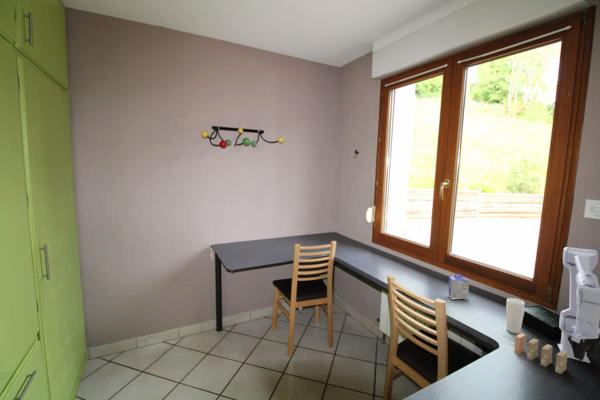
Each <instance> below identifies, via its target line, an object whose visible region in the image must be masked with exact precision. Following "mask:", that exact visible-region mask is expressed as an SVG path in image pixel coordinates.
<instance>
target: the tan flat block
mask: <svg viewBox="0 0 600 400" xmlns="http://www.w3.org/2000/svg"><path fill="white" fill-rule="evenodd" d="M552 357H553V345H551V344H549V343H548V344H546V345H544V346H543V347H541V355H540V365H541V366H543V367H545V368H546V367H548V366H550V364H552V360H553V359H552Z"/></svg>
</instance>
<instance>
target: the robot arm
mask: <svg viewBox="0 0 600 400" xmlns="http://www.w3.org/2000/svg"><path fill="white" fill-rule="evenodd" d="M598 260H599V254H598V251H597V250H596V249H587V248H577V247H571V246H570V247H569V246H564V248H563V250H562V265H563V267H564V268H566V269H568V271H569V303H568V305H569V306H568V307H569V308H566V309H564V310H561V311H560V314H559V321H558V322H559V323H558V324H559V325H558V327H559V329H560V331H561V336H560V337H561V338H560V343H557V347H558V349H559V352H560V351H562V350H563V351H565V352H568V354H567V359H572V360H576V361H580V362H583V363H584V362H585V363H588V364H590V363H591V361H590V359H589V358H588V356H587V354H589V355H592V356H594V355H595V353H596V352H597V350H598V347H599V345H600V284H599V280H598V276H597V275H596V274H595V273H594V272H593V270H594V269H595V268H596V265H597V264H598V262H599V261H598Z"/></svg>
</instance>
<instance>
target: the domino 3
mask: <svg viewBox="0 0 600 400" xmlns="http://www.w3.org/2000/svg"><path fill="white" fill-rule="evenodd" d="M567 354H568V352H565V351H563V350H562V351H560V350H559V352H558V353H556V358H555V368H554V369H555V373H558V374H559V375H562V374H563V373H564V372H565V371H567V365H568V357H567Z"/></svg>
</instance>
